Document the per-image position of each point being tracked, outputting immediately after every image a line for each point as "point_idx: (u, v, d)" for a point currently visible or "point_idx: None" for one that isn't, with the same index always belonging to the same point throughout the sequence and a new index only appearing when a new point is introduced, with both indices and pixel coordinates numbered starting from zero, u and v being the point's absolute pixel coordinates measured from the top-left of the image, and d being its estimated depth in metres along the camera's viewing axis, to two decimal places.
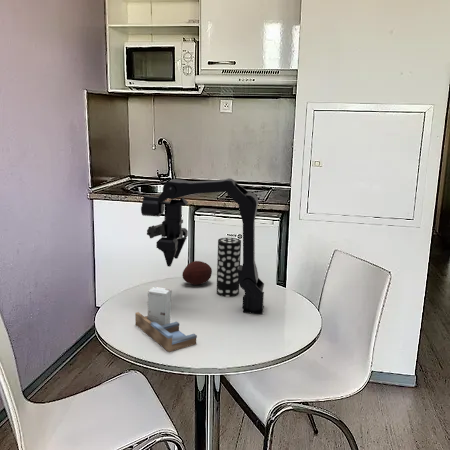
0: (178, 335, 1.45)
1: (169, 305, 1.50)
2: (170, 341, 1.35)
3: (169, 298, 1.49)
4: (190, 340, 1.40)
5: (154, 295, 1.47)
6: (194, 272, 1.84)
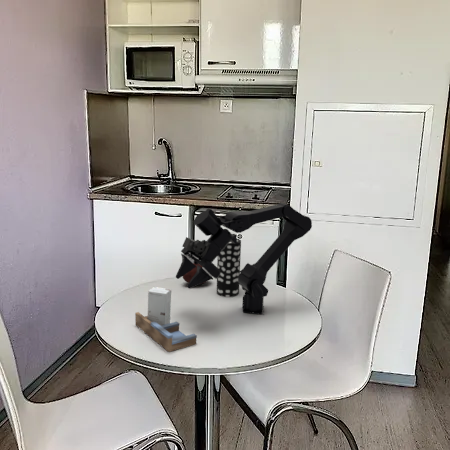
0: (178, 335, 1.45)
1: (169, 305, 1.50)
2: (170, 341, 1.35)
3: (169, 298, 1.49)
4: (190, 340, 1.40)
5: (154, 295, 1.47)
6: (194, 272, 1.84)
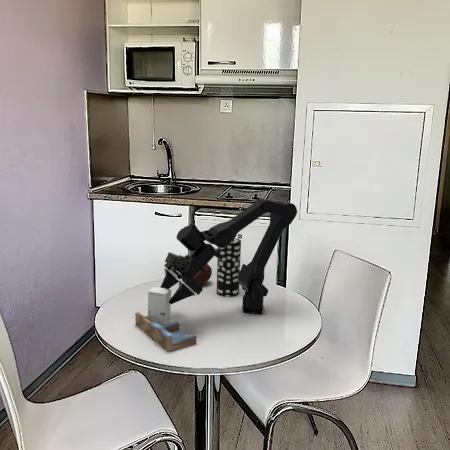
0: (178, 335, 1.45)
1: (169, 305, 1.50)
2: (170, 341, 1.35)
3: (169, 298, 1.49)
4: (190, 340, 1.40)
5: (154, 295, 1.47)
6: None
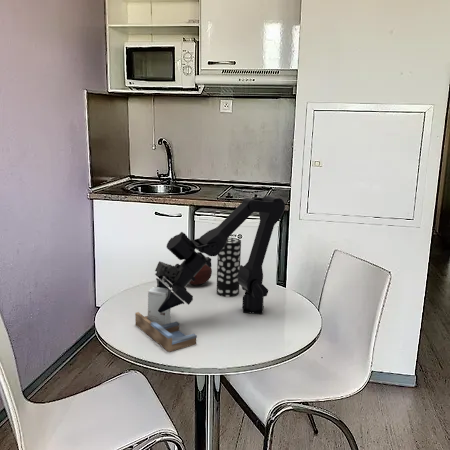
0: (178, 335, 1.45)
1: None
2: (170, 341, 1.35)
3: None
4: (190, 340, 1.40)
5: (154, 295, 1.47)
6: None
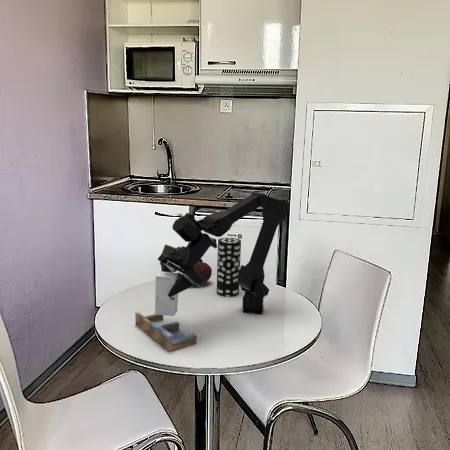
0: (178, 335, 1.45)
1: None
2: (170, 341, 1.35)
3: None
4: (190, 340, 1.40)
5: (162, 280, 1.41)
6: None
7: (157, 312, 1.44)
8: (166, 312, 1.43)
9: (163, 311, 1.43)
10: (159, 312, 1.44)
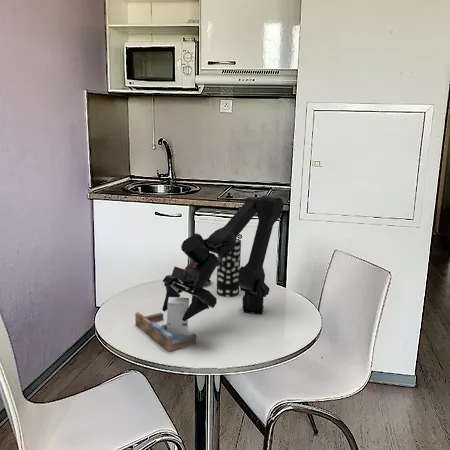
0: None
1: None
2: (170, 341, 1.35)
3: None
4: (190, 340, 1.40)
5: (174, 306, 1.39)
6: None
7: None
8: None
9: (175, 338, 1.41)
10: None
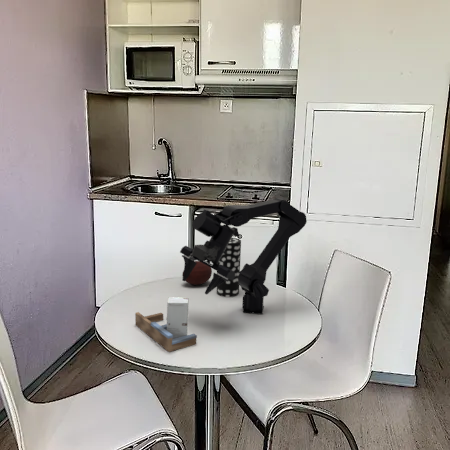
0: None
1: None
2: (170, 341, 1.35)
3: None
4: (190, 340, 1.40)
5: (174, 306, 1.39)
6: (194, 272, 1.84)
7: None
8: None
9: (175, 338, 1.41)
10: None
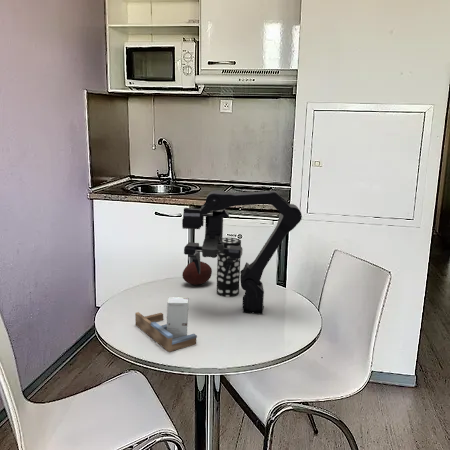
0: None
1: None
2: (170, 341, 1.35)
3: None
4: (190, 340, 1.40)
5: (174, 306, 1.39)
6: (194, 272, 1.84)
7: None
8: None
9: (175, 338, 1.41)
10: None
